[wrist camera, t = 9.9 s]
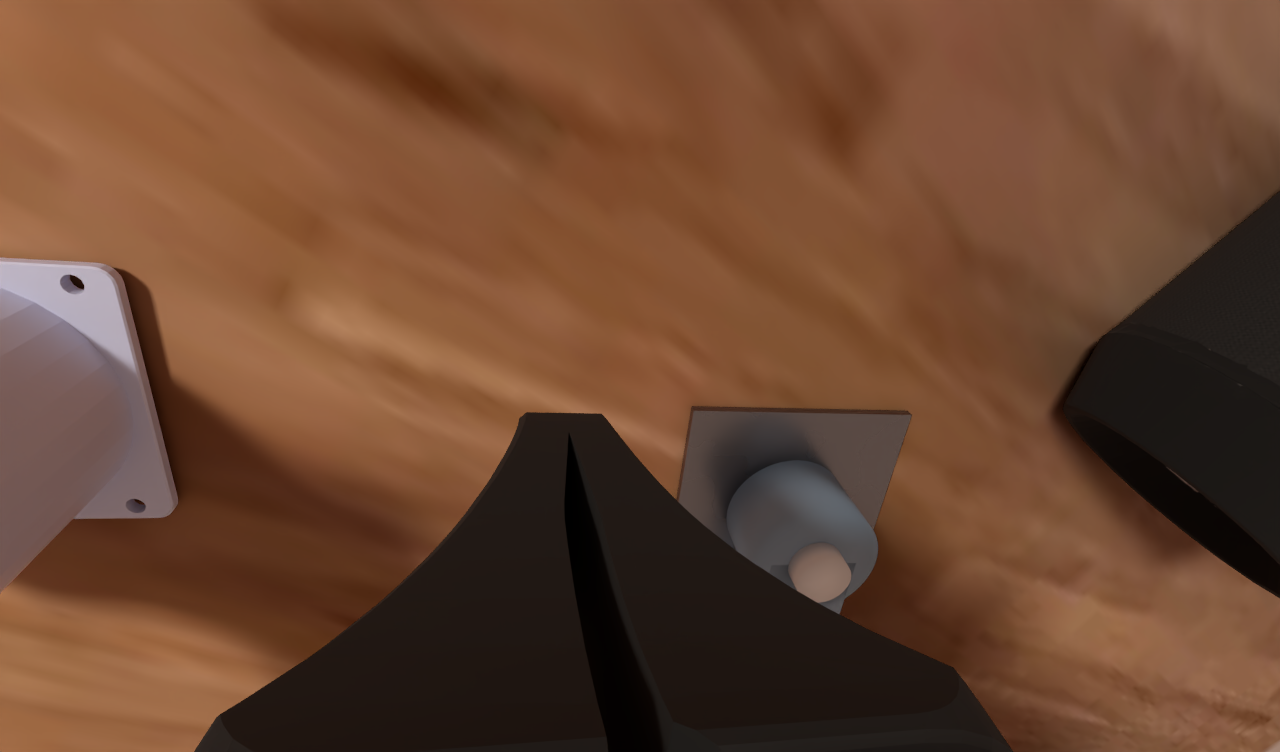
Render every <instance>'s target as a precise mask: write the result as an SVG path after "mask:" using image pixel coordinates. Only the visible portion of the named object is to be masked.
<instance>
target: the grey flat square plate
mask: <svg viewBox="0 0 1280 752" xmlns="http://www.w3.org/2000/svg"><path fill="white" fill-rule="evenodd" d="M911 416H912V415H911V414H910V413H909V412H908V411H890V410H841V409H793V408H745V407H696V406H692V407H691V414H690V420H689V426H688V432H687V438H686V444H685V450H684V457H683V463H682V469H681V475H680V481H679V487H678V494H677V501H678V502H679V503H680V504H681V505H682V506H683V507H684V508H685V509H686V510H687V511H688V512H689V513H691V514H692V515H693V516H694V517H695V518H696V519H697V520H699V521H700V522H701V523H702V524H703V525H704V526H706V527H707V528H708V529H709V530H711V531H712V532H713V533H714V534H716V535H717V536H718V537H719V538H721V539H722V540H723V541H725V542H726V543H727V544H728V545H730V546H731V547H732V548H733V549H735V550H736V548H735V546H734V543H733V541H732V539H731V536H730V534H729V531H728V528H727V520H726V517H727V510H728V507H729V504H730V501H731V499H732V497H733V496H734V494H735V492H736V491H737V490H738V488H739V487H740V486H741V485H742V484H743V483H744V482H745V481H746V480H747V479H748V478H749V477H751V476H752V475H753V474H755V473H756V472H758V471H760V470H762V469H764V468H765V467H768V466H770V465H773V464H776V463H780V462H784V461H792V460H802V461H809V462H813V463H816V464H819V465H821V466H823V467H825V468H826V469H827V470H829V471H830V472H831V473H832V474H833V475H834V476H835V478H836V479H837V480H838V482H839V483H840V485H841V486H842V487H843V489H844V490H845V491H846V493H847V494H848V496H849V497H850V498H851V500H852V501H853V503H854V504H855V505H856V507H857V508H858V510H859V511H860V512H861V514H862V515H863V516H864V518H865V519H866V521H867V522H868V523H869V525H870V526H871V528H872V529H873V530H874V527H875V524H876V521H877V518H878V515H879V512H880V509H881V506H882V503H883V500H884V497H885V494H886V491H887V488H888V485H889V482H890V479H891V476H892V473H893V470H894V467H895V464H896V461H897V458H898V455H899V452H900V449H901V446H902V443H903V440H904V437H905V434H906V431H907V428H908V425H909V422H910V419H911Z"/></svg>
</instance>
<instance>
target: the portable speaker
mask: <svg viewBox="0 0 1280 752" xmlns="http://www.w3.org/2000/svg"><path fill="white" fill-rule="evenodd" d="M1063 411H1064V414H1065V416H1066V418H1067V420H1068V421H1069V423H1070V424H1071V425H1072V427H1073V428H1074V429H1075V431H1076V432H1077V433H1078V434H1079V436H1080V437H1081V438H1082V439H1083V441H1084V442H1085V443H1086V444H1087V445H1088V446H1089V447H1090V448H1091V449H1092V450H1093V451H1094V452H1095V453H1096V454H1097V455H1098V456H1099V457H1100V458H1101V459H1102V460H1103V461H1104V462H1105V463H1106V464H1107V465H1108V466H1109V467H1110V468H1111V469H1112V470H1113V471H1114V472H1115V473H1116V474H1117V475H1118V476H1120V477H1121V478H1122V479H1123V480H1124V481H1125V482H1126V483H1127V484H1128V485H1129V486H1130V487H1132V488H1133V489H1134V490H1135V491H1136V492H1137V493H1138V494H1139V495H1141V496H1142V497H1143V498H1144V499H1145V500H1146V501H1148V502H1149V503H1150V504H1151V505H1152V506H1153V507H1155V508H1156V509H1157V510H1158V511H1159V512H1161V513H1162V514H1163V515H1164V516H1165V517H1167V518H1168V519H1169V520H1170V521H1172V522H1173V523H1174V524H1175V525H1177V526H1178V527H1179V528H1180V529H1181V530H1183V531H1184V532H1185V533H1186V534H1188V535H1189V536H1190V537H1192V538H1193V539H1194V540H1196V541H1197V542H1198V543H1199V544H1201V545H1202V546H1203V547H1205V548H1206V549H1207V550H1209V551H1210V552H1211V553H1213V554H1214V555H1215V556H1217V557H1218V558H1219V559H1221V560H1222V561H1224V562H1225V563H1226V564H1228V565H1229V566H1231V567H1232V568H1234V569H1235V570H1237V571H1238V572H1239V573H1241V574H1242V575H1244V576H1245V577H1247V578H1248V579H1250V580H1251V581H1252V582H1254V583H1256V584H1257V585H1259V586H1261V587H1262V588H1264V589H1266V590H1267V591H1269V592H1270V593H1272V594H1274V595H1275V596H1277V597H1279V598H1280V192H1278V193H1277V194H1276V195H1275V196H1274V197H1272V198H1271V199H1270V200H1269V201H1268V202H1266V203H1265V204H1264V205H1263V206H1262V207H1260V208H1259V209H1258V210H1257V211H1256V212H1254V213H1253V214H1252V215H1251V216H1250V217H1248V218H1247V219H1246V220H1245V221H1244V222H1242V223H1241V224H1240V225H1239V226H1238V227H1236V228H1235V229H1234V230H1233V231H1232V232H1230V233H1229V234H1228V235H1227V236H1226V237H1224V238H1223V239H1222V240H1221V241H1219V242H1218V243H1217V244H1216V245H1215V246H1213V247H1212V248H1211V249H1210V250H1209V251H1207V252H1206V253H1205V254H1204V255H1203V256H1201V257H1200V258H1199V259H1198V260H1197V261H1195V262H1194V263H1193V264H1192V265H1191V266H1189V267H1188V268H1187V269H1186V270H1185V271H1183V272H1182V273H1181V274H1180V275H1179V276H1177V277H1176V278H1175V279H1174V280H1173V281H1171V282H1170V283H1169V284H1168V285H1167V286H1165V287H1164V288H1163V289H1162V290H1161V291H1159V292H1158V293H1157V294H1156V295H1155V296H1153V297H1152V298H1151V299H1150V300H1149V301H1147V302H1146V303H1145V304H1144V305H1143V306H1141V307H1140V308H1139V309H1138V310H1137V311H1135V312H1134V313H1133V314H1132V315H1131V316H1129V317H1128V318H1127V319H1126V320H1124V321H1123V322H1122V323H1120V324H1119V325H1118V326H1116V327H1115V328H1114V329H1112V330H1111V331H1110V332H1108V333H1107V334H1105V335H1104V336H1102V337H1101V339H1100V340H1099V342H1098V344H1097V346H1096V347H1095V349H1094V351H1093V353H1092V355H1091V356H1090V358H1089V360H1088V362H1087V364H1086V365H1085V367H1084V369H1083V371H1082V373H1081V374H1080V376H1079V378H1078V380H1077V382H1076V383H1075V385H1074V387H1073V389H1072V391H1071V392H1070V394H1069V396H1068V398H1067V400H1066V401H1065V403H1064V407H1063Z"/></svg>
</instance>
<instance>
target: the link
mask: <svg viewBox="0 0 1280 752" xmlns="http://www.w3.org/2000/svg"><path fill="white" fill-rule="evenodd" d="M726 520H727V528H728V531H729V534H730V536H731V539H732V541H733V543H734V546H735V548H736V551H737V552H739V553H740V554H742V555H743V556H745V557H746V558H747V559H749V560H750V561H752V562H753V563H754V564H756V565H757V566H759V567H761V568H762V569H764V570H765V571H767V572H768V573H770V574H771V575H773V576H774V577H776V578H777V579H779V580H781V581H782V582H784V583H785V584H787V585H788V586H790V587H791V588H793V589H795V590H796V591H798V592H800V593H802V594H803V595H805V596H807V597H809V598H810V599H812V600H814V601H815V602H817V603H819V604H821V605H823V606H824V607H826V608H828V609H830V610H832V611H834V612H836V613H838V614H840V611H841V608H842V605H843V602H844V599H845V598H847V597H848V596H849V595H851V594H852V593H853V592H855V591H856V590H857V589H858V588H859V587H860V586H861V585H862V584H863V583H864V582H865V580H866V579H867V578H868V576H869V575H870V573H871V571H872V570H873V567H874V565H875V563H876V559H877V555H878V542H877V537H876V535H875V533H874V531H873V529H872V528H871V526H870V525H869V523H868V522H867V521H866V519H865V518H864V516H863V515H862V514H861V512H860V511H859V510H858V508H857V507H856V505H855V504H854V503H853V501H852V500H851V498H850V497H849V496H848V494H847V493H846V491H845V490H844V489H843V487H842V486H841V485H840V483H839V482H838V480H837V479H836V478H835V476H834V475H833V474H832V473H831V472H830V471H829V470H827V469H826V468H825V467H823V466H821V465H819V464H816V463H813V462H809V461H802V460H792V461H784V462H780V463H776V464H773V465H770V466H768V467H765V468H764V469H762V470H760V471H758V472H756V473H755V474H753V475H752V476H751V477H749V478H748V479H747V480H746V481H745V482H744V483H743V484H742V485H741V486H740V487H739V488H738V490H737V491H736V492H735V494H734V496H733V497H732V499H731V501H730V504H729V507H728V510H727V517H726Z"/></svg>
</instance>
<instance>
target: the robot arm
mask: <svg viewBox="0 0 1280 752" xmlns="http://www.w3.org/2000/svg"><path fill="white" fill-rule="evenodd" d="M70 275H74V276H76V277H78V278H79V279H81V280H82V282H83V284H84V289H80V288H78V287H76V286H75V285H73V283H72V282H71V280H70ZM134 499H138V500H140V501H142V502H143V503H144V504H145V505H142V504H138V503H137V502H135V501H134ZM177 505H178V496H177V492H176V488H175V484H174V480H173V476H172V472H171V468H170V464H169V460H168V456H167V452H166V448H165V444H164V440H163V436H162V432H161V428H160V424H159V420H158V416H157V412H156V408H155V404H154V400H153V396H152V392H151V388H150V384H149V380H148V376H147V372H146V368H145V364H144V360H143V356H142V352H141V348H140V344H139V340H138V336H137V332H136V328H135V324H134V320H133V316H132V312H131V308H130V304H129V300H128V296H127V292H126V288H125V284H124V281H123V279H122V277H121V275H120V274H119V273H118V272H117V271H116V270H115V269H113V268H112V267H110V266H108V265H105V264H101V263H92V262H73V261H55V260H36V259H17V258H0V593H1V592H2V591H3V590H4V589H5V588H6V587H7V586H8V585H9V584H10V583H11V582H12V581H13V580H14V579H15V578H16V577H17V576H18V575H19V574H20V573H21V572H22V571H23V570H24V569H25V568H26V567H27V565H28V564H29V563H30V562H31V561H32V560H33V559H34V558H35V557H36V556H37V555H38V554H39V553H40V552H41V551H42V550H43V549H44V548H45V547H46V546H47V545H48V544H49V543H50V542H51V541H52V540H53V539H54V538H55V537H56V536H57V535H58V534H59V533H60V532H61V531H62V530H63V529H64V528H65V527H66V526H67V524H68V523H69V522H70V521H71V520H72V519H114V518H162V517H166V516H168V515H170V514H171V513H172V511H173V510H174V509H175V508H176V506H177ZM194 752H1013V751H1012V749H1011V748H1010V746H1009V745H1008V743H1007V742H1006V740H1005V739H1004V738H1003V736H1002V735H1001V733H1000V732H999V730H998V729H997V727H996V726H995V724H994V723H993V721H992V720H991V719H990V717H989V716H988V714H987V713H986V711H985V710H984V708H983V707H982V705H981V704H980V703H979V701H978V700H977V698H976V697H975V696H974V694H973V693H972V692H971V690H970V689H969V687H968V686H967V685H966V683H965V682H964V681H963V679H962V678H961V677H960V676H959V674H958V673H957V672H956V670H955V669H954V668H953V667H950V666H948V665H946V664H944V663H942V662H939V661H937V660H935V659H933V658H930V657H928V656H926V655H924V654H921V653H919V652H917V651H915V650H912V649H910V648H908V647H906V646H904V645H901V644H899V643H897V642H895V641H892V640H890V639H888V638H886V637H883V636H881V635H879V634H877V633H874V632H872V631H870V630H868V629H866V628H864V627H862V626H860V625H858V624H856V623H854V622H853V621H851V620H849V619H847V618H845V617H843V616H841V615H839V614H838V613H836V612H834V611H832V610H830V609H828V608H826V607H824V606H823V605H821V604H819V603H817V602H815V601H814V600H812V599H810V598H809V597H807V596H805V595H803V594H802V593H800V592H798V591H796V590H795V589H793V588H791V587H790V586H788V585H787V584H785V583H784V582H782V581H781V580H779V579H777V578H776V577H774V576H773V575H771V574H770V573H768V572H767V571H765V570H764V569H762V568H761V567H759V566H757V565H756V564H754V563H753V562H752V561H750V560H749V559H747V558H746V557H745V556H743V555H742V554H740V553H739V552H737V551H736V550H735V549H733V548H732V547H731V546H730V545H728V544H727V543H726V542H725V541H723V540H722V539H721V538H719V537H718V536H717V535H716V534H714V533H713V532H712V531H711V530H709V529H708V528H707V527H706V526H704V525H703V524H702V523H701V522H700V521H699V520H697V519H696V518H695V517H694V516H693V515H692V514H691V513H689V512H688V511H687V510H686V509H685V508H684V507H683V506H682V505H681V504H680V503H679V502H678V501H677V500H676V499H675V498H674V497H673V496H672V495H671V494H670V493H669V492H668V491H667V490H666V489H665V488H664V487H663V486H662V485H661V484H660V483H659V482H658V481H657V480H656V479H655V477H654V476H653V475H652V474H651V473H650V472H649V471H648V470H647V469H646V467H645V466H644V465H643V464H642V463H641V462H640V461H639V459H638V458H637V457H636V456H635V455H634V453H633V452H632V451H631V450H630V449H629V447H628V446H627V445H626V444H625V442H624V441H623V440H622V439H621V437H620V436H619V435H618V433H617V432H616V431H615V430H614V428H613V427H612V426H611V424H610V423H609V422H608V420H607V419H606V418H605V417H604V416H603V415H602V414H584V413H529V412H527V413H525V414H524V415H523V416H522V417H521V418H519V423H518V427H517V430H516V432H515V435H514V437H513V439H512V441H511V443H510V445H509V447H508V449H507V451H506V453H505V455H504V457H503V459H502V460H501V462H500V464H499V465H498V467H497V469H496V470H495V472H494V474H493V475H492V477H491V479H490V480H489V482H488V483H487V485H486V486H485V487H484V489H483V490H482V492H481V493H480V494H479V496H478V497H477V498H476V500H475V501H474V503H473V504H472V505H471V507H470V508H469V509H468V511H467V512H466V514H465V515H464V516H463V517H462V519H461V520H460V521H459V522H458V524H457V525H456V526H455V527H454V528H453V530H452V531H451V532H450V533H449V534H448V535H447V537H446V538H445V539H444V540H443V541H442V542H441V543H440V544H439V545H438V546H437V548H436V549H435V550H434V551H433V552H432V553H431V554H430V555H429V556H428V557H427V558H426V559H425V560H424V561H423V562H422V563H421V564H420V565H419V566H418V567H417V568H416V569H415V570H414V571H413V572H412V573H411V574H410V575H409V576H408V577H407V578H406V579H405V580H404V581H403V582H402V583H401V584H400V585H399V586H397V587H396V588H395V589H394V590H393V591H392V592H391V593H390V594H389V595H387V596H386V597H385V598H384V599H383V600H382V601H381V602H379V603H378V604H377V605H376V606H375V607H373V608H372V609H371V610H370V611H368V612H367V613H366V614H365V615H363V616H362V617H361V618H360V619H358V620H357V621H356V622H355V623H353V624H352V625H351V626H350V627H348V628H347V629H346V630H345V631H343V632H342V633H341V634H339V635H338V636H337V637H336V638H334V639H333V640H332V641H331V642H329V643H328V644H327V645H326V646H324V647H323V648H321V649H320V650H319V651H317V652H316V653H315V654H313V655H312V656H310V657H309V658H308V659H306V660H305V661H303V662H301V663H300V664H298V665H297V666H295V667H294V668H292V669H291V670H289V671H288V672H286V673H285V674H283V675H281V676H280V677H278V678H277V679H275V680H274V681H272V682H271V683H269V684H268V685H266V686H265V687H263V688H261V689H260V690H258V691H257V692H255V693H254V694H252V695H251V696H249V697H248V698H246V699H245V700H243V701H241V702H240V703H238V704H237V705H235V706H233V707H232V708H230V709H228V710H227V711H225V712H223V713H222V714H220V715H219V716H218V717H217V718H216V719H215V721H214V722H213V724H212V725H211V727H210V728H209V730H208V731H207V733H206V734H205V736H204V737H203V739H202V740H201V742H200V743H199V745H198V747H197V748H196V750H195V751H194Z"/></svg>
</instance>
